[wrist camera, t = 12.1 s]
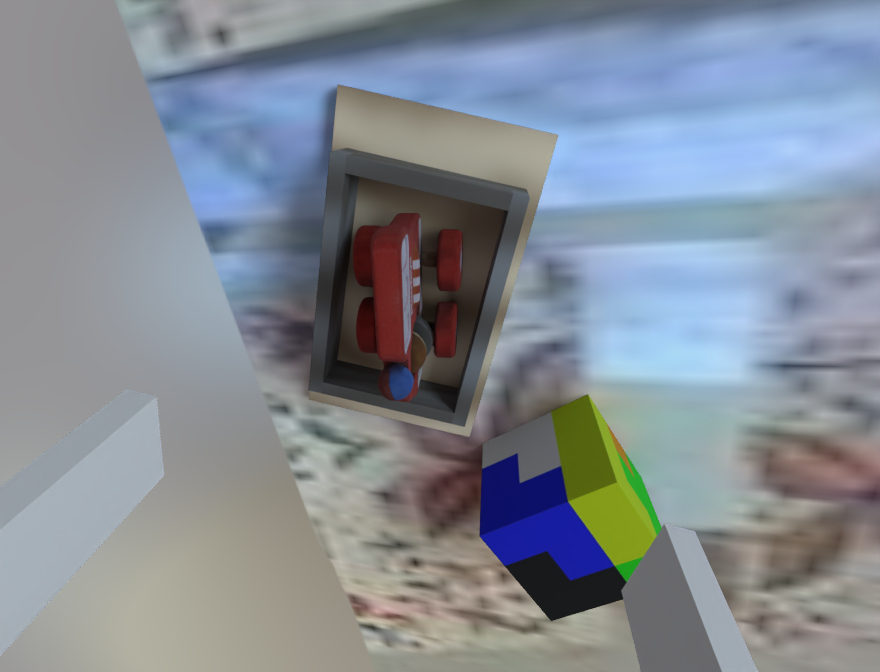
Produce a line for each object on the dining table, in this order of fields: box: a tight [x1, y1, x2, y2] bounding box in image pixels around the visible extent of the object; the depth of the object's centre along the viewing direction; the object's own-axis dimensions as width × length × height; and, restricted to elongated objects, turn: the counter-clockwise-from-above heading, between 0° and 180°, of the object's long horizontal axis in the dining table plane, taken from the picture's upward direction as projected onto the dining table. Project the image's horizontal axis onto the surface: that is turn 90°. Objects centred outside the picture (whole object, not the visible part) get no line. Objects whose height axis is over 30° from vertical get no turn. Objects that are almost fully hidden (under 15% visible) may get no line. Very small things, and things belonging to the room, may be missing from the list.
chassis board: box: [309, 85, 558, 437], centre depth 33 cm, size 24×14×4 cm, turn 168°
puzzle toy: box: [480, 395, 662, 621], centre depth 36 cm, size 10×10×10 cm
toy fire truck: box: [353, 213, 463, 402], centre depth 29 cm, size 7×12×10 cm, turn 178°
